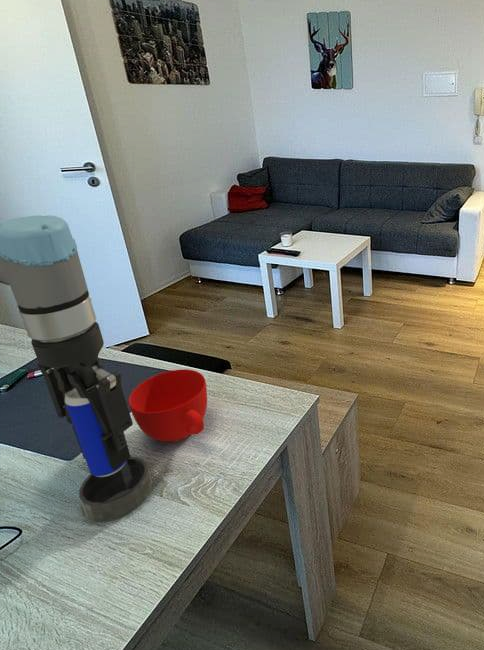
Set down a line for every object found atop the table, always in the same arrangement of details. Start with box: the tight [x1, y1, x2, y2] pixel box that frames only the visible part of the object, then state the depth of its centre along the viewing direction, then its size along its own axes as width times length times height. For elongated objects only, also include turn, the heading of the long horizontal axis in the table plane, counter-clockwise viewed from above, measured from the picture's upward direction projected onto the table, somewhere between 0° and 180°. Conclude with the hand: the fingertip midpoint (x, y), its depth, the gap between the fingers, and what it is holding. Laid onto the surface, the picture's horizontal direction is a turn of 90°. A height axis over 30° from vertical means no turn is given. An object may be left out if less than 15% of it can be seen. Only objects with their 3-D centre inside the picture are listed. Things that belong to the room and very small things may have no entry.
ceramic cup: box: [128, 368, 208, 443], centre depth 82 cm, size 13×17×10 cm
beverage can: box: [65, 384, 126, 477], centre depth 66 cm, size 5×5×15 cm
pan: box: [78, 456, 153, 523], centre depth 71 cm, size 9×9×4 cm
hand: (107, 457), depth 68 cm, fingers closed on beverage can, 5 cm apart
